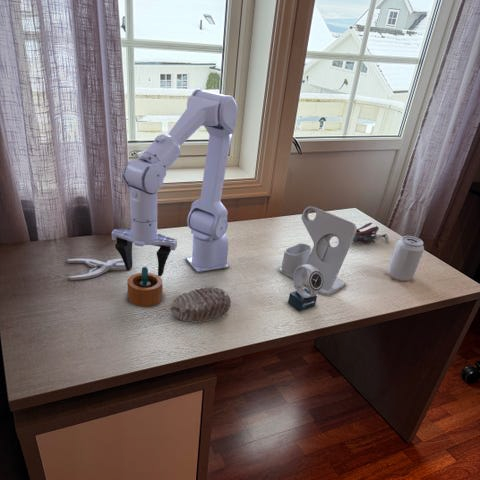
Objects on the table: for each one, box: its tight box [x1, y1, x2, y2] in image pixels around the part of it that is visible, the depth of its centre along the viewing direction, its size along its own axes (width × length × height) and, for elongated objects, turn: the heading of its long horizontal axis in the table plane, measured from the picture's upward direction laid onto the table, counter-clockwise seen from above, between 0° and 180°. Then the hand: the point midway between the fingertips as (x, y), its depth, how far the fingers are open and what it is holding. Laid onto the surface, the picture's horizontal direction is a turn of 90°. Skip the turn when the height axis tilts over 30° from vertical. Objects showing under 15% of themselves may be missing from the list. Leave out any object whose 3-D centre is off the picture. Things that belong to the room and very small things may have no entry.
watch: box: [287, 264, 324, 313], centre depth 111 cm, size 6×8×11 cm
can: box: [387, 235, 425, 282], centre depth 129 cm, size 8×8×12 cm
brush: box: [140, 266, 151, 288], centre depth 106 cm, size 3×3×8 cm
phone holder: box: [279, 205, 358, 296], centre depth 121 cm, size 17×10×18 cm, turn 47°
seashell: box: [170, 286, 232, 323], centre depth 104 cm, size 14×9×10 cm
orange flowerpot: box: [126, 272, 164, 307], centre depth 108 cm, size 8×8×5 cm
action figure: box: [352, 222, 390, 244], centre depth 149 cm, size 8×6×18 cm
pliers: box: [66, 257, 127, 281], centre depth 117 cm, size 10×2×15 cm
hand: (145, 271), depth 105 cm, fingers open, 7 cm apart
